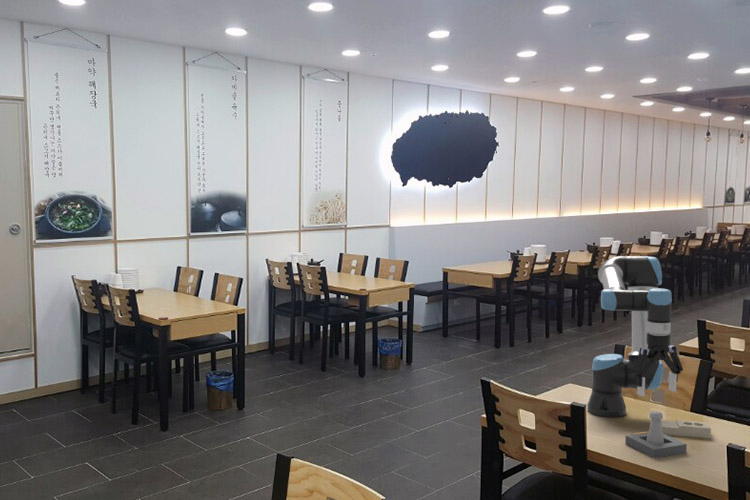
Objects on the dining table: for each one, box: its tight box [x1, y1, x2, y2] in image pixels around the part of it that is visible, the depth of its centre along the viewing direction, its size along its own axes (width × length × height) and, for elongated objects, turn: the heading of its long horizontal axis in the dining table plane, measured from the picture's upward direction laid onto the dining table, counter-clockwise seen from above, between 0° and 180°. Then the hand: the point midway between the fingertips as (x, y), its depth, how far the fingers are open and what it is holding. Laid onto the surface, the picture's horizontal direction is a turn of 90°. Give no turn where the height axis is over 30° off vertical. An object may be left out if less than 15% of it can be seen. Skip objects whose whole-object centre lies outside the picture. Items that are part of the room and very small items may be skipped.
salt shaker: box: [647, 410, 664, 445], centre depth 233 cm, size 6×6×13 cm
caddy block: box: [625, 430, 688, 459], centre depth 233 cm, size 14×14×3 cm
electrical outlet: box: [661, 419, 712, 439], centre depth 248 cm, size 7×4×18 cm
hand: (656, 393), depth 232 cm, fingers open, 13 cm apart
